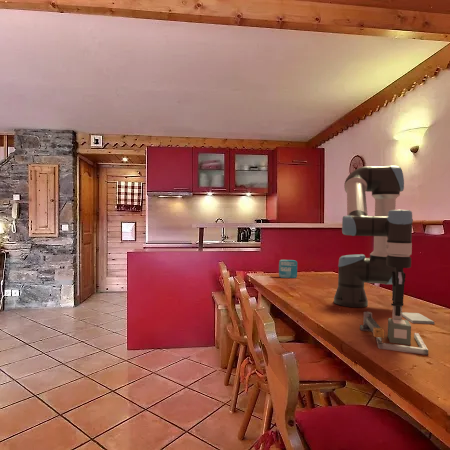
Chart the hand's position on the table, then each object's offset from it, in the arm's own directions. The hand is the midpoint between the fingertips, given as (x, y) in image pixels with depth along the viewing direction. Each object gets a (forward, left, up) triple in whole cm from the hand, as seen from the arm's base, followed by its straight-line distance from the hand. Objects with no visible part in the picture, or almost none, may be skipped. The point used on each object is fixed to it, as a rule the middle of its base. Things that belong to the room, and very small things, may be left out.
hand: (396, 324), depth 116 cm
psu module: (+4, 0, -4) cm, 6 cm away
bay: (+7, 0, -4) cm, 8 cm away
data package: (-106, -56, -4) cm, 120 cm away
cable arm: (+5, -8, -1) cm, 9 cm away
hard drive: (-27, +10, -5) cm, 29 cm away
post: (-4, -9, -4) cm, 11 cm away
